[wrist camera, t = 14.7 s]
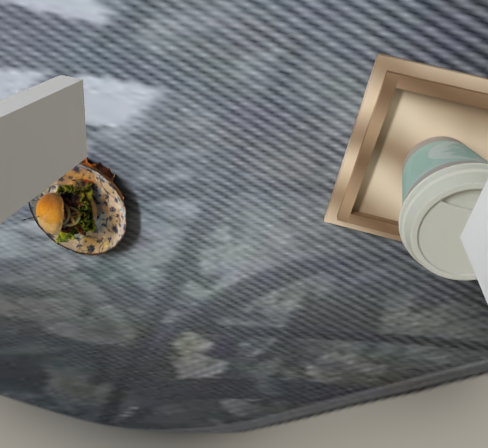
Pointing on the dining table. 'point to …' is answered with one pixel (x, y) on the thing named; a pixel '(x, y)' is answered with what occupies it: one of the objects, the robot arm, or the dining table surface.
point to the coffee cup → (440, 203)
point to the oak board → (402, 137)
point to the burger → (82, 210)
